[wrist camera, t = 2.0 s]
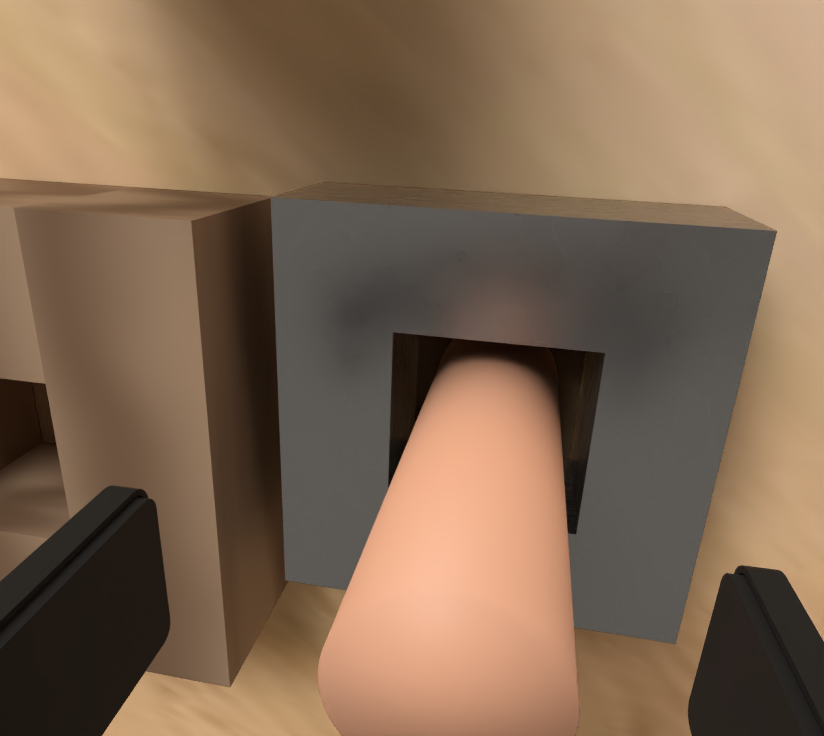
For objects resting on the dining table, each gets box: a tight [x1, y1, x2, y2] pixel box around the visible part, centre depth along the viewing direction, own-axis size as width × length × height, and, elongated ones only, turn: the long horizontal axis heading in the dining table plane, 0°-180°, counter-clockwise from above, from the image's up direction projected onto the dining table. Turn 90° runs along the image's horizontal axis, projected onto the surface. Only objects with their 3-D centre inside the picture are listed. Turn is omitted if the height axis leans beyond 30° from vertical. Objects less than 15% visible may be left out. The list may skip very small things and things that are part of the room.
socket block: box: [0, 178, 288, 687], centre depth 20 cm, size 14×14×5 cm
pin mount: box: [271, 182, 777, 644], centre depth 18 cm, size 11×11×4 cm
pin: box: [318, 338, 580, 736], centre depth 14 cm, size 4×4×12 cm
